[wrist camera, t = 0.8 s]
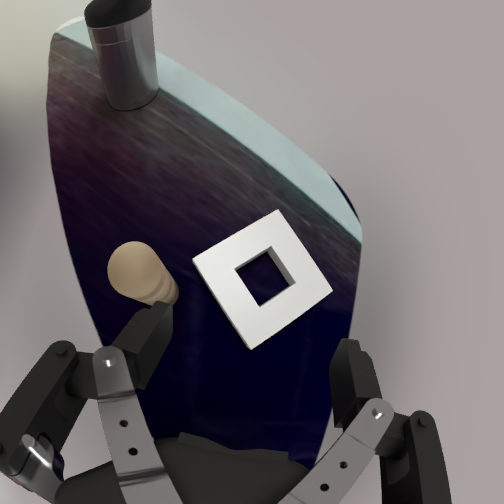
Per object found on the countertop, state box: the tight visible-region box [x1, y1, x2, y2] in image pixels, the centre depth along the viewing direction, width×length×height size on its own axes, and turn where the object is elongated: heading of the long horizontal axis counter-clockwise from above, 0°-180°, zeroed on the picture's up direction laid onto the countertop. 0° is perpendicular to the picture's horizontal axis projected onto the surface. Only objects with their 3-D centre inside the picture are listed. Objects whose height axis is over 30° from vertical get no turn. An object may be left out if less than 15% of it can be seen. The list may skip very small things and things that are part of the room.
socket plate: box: [193, 209, 333, 349], centre depth 33 cm, size 12×12×2 cm
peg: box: [108, 242, 179, 306], centre depth 25 cm, size 4×4×14 cm
